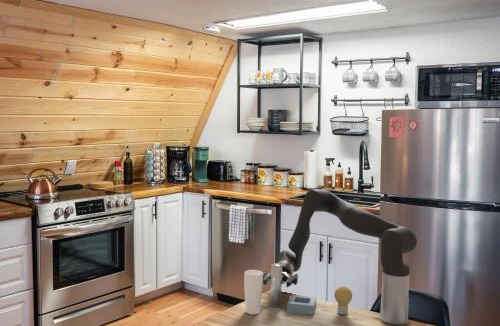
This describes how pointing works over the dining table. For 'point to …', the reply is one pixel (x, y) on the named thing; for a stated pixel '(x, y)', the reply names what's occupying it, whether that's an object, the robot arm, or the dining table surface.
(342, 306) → the light bulb
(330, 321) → the dining table surface
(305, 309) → the blue square frame
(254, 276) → the drinking glass
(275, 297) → the steel pin
